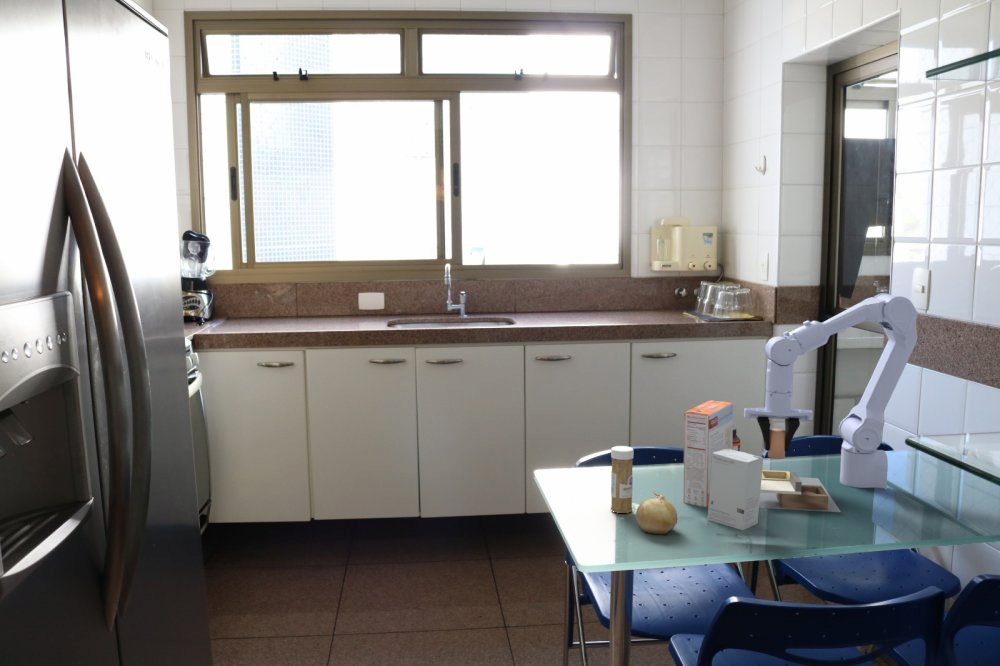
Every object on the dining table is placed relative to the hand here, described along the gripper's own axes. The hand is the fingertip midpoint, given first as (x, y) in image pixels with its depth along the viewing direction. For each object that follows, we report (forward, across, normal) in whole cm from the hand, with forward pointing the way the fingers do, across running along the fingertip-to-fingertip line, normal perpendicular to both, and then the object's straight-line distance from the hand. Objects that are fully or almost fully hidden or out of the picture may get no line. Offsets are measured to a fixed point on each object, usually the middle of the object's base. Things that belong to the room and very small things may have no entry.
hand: (776, 450), depth 191 cm
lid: (+4, +2, +15) cm, 16 cm away
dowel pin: (+2, 0, 0) cm, 2 cm away
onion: (+9, +27, +32) cm, 43 cm away
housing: (+7, -3, +15) cm, 17 cm away
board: (+8, -2, +8) cm, 12 cm away
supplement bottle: (+9, +10, -8) cm, 15 cm away
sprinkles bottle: (+9, +34, +22) cm, 41 cm away
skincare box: (+9, +12, +28) cm, 32 cm away
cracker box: (+9, +16, +13) cm, 22 cm away
